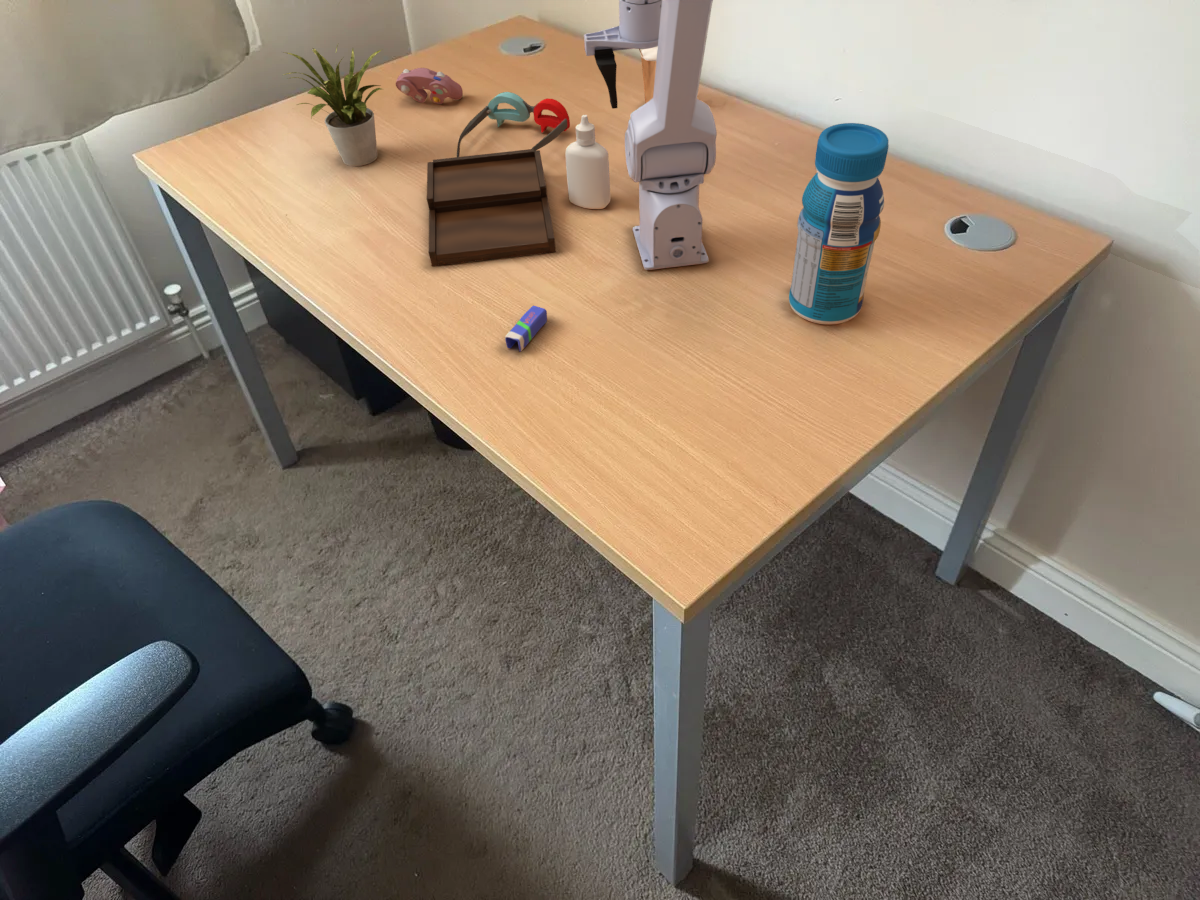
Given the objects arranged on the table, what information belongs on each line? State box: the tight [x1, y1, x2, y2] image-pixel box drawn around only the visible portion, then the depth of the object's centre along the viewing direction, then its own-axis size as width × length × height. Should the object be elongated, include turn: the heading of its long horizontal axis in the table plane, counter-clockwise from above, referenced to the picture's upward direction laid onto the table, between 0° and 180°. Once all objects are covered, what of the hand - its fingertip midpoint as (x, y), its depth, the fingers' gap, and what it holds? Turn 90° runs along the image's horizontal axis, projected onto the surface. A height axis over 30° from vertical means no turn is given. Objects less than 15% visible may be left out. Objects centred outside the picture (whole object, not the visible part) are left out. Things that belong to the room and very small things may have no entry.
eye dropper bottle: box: [564, 114, 612, 210], centre depth 110 cm, size 4×6×12 cm
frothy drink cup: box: [638, 46, 658, 104], centre depth 130 cm, size 5×5×10 cm
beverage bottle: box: [788, 122, 890, 325], centre depth 89 cm, size 8×8×20 cm
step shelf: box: [426, 148, 557, 267], centre depth 112 cm, size 20×16×4 cm
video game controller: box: [395, 67, 464, 105], centre depth 137 cm, size 10×5×7 cm, turn 73°
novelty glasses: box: [456, 91, 571, 157], centre depth 125 cm, size 14×15×5 cm
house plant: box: [282, 44, 384, 167], centre depth 121 cm, size 14×14×16 cm
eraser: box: [504, 305, 548, 353], centre depth 95 cm, size 2×6×2 cm, turn 152°
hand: (642, 101), depth 113 cm, fingers open, 7 cm apart
